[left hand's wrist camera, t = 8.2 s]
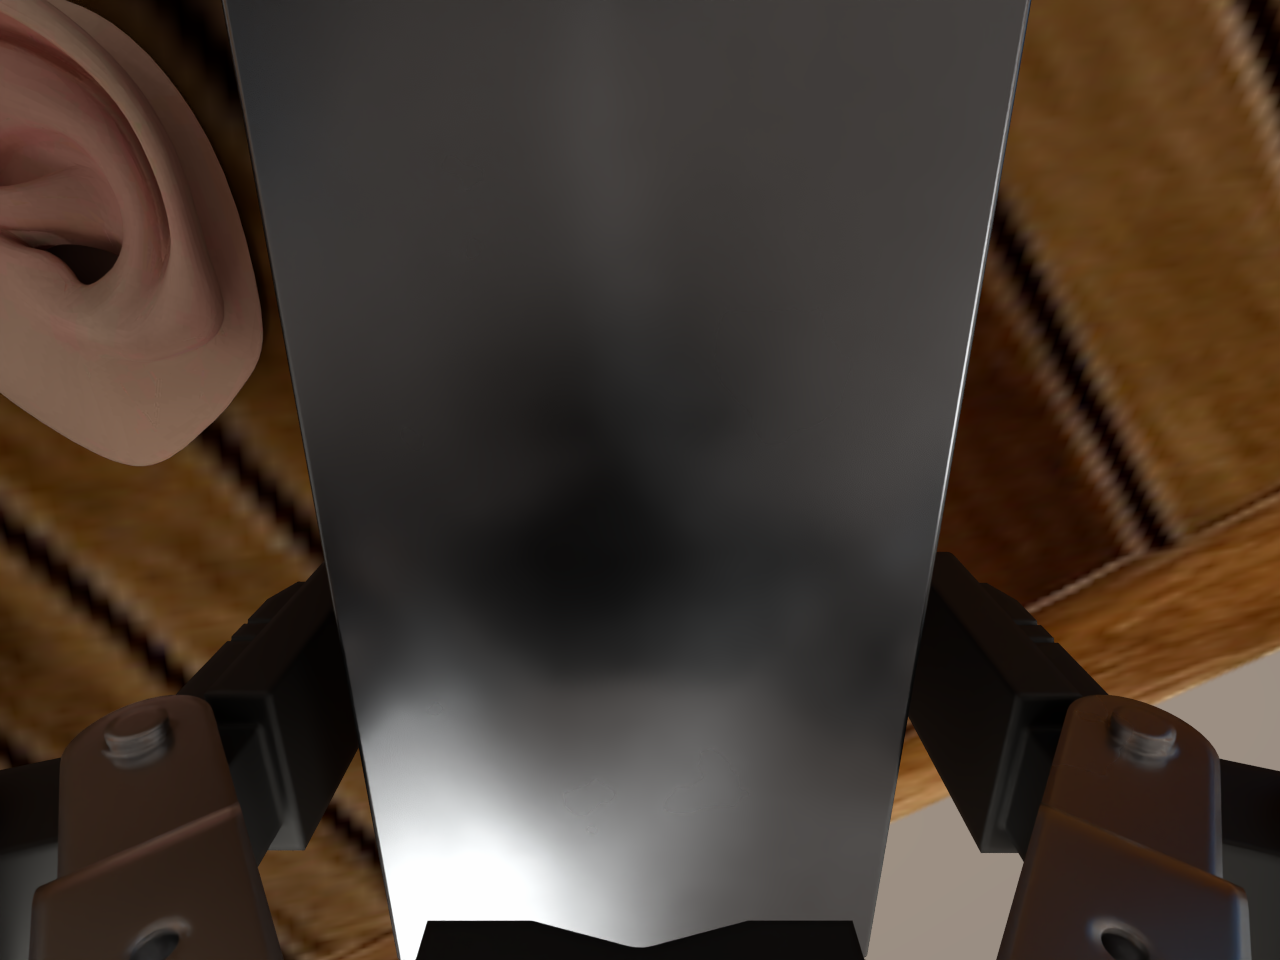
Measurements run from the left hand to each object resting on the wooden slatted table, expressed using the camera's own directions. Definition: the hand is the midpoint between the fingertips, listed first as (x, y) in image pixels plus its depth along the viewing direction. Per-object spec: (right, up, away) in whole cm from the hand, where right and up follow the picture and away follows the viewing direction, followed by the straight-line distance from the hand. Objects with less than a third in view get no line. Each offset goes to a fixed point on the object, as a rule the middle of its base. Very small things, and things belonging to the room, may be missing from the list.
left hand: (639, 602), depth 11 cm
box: (0, +11, +2) cm, 11 cm away
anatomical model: (-17, +9, +11) cm, 22 cm away
